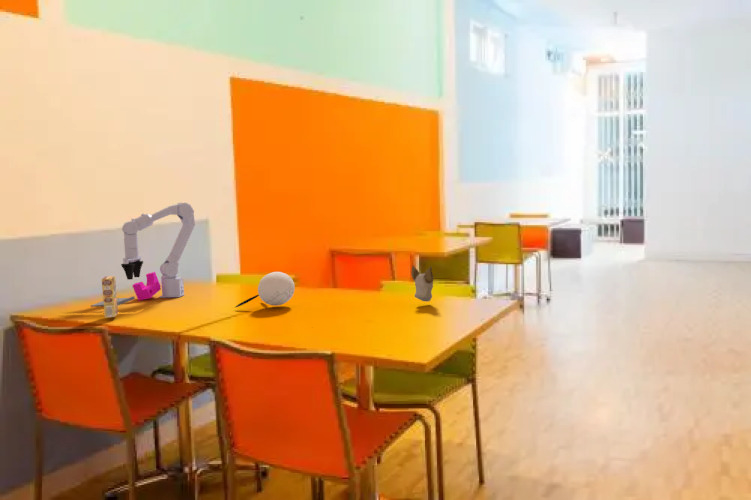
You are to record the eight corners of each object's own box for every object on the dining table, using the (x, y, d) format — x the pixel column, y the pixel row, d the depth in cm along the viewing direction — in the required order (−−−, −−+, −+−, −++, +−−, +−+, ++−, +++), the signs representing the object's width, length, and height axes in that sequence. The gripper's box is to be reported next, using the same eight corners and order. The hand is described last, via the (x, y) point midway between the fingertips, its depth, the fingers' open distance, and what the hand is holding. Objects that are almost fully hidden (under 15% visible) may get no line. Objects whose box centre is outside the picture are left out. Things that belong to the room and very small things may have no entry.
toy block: (150, 297, 320) (144, 282, 318) (138, 300, 321) (132, 285, 319) (165, 285, 334) (159, 270, 332) (153, 288, 335) (147, 273, 333)
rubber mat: (134, 298, 328) (134, 296, 328) (116, 305, 308) (116, 303, 308) (110, 299, 328) (110, 297, 328) (90, 306, 309) (90, 304, 309)
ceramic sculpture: (442, 301, 289) (441, 265, 288) (428, 305, 283) (427, 267, 282) (421, 299, 297) (420, 263, 295) (408, 302, 290) (407, 265, 289)
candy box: (115, 317, 279) (112, 278, 278) (104, 318, 278) (101, 278, 277) (118, 313, 287) (115, 275, 286) (107, 314, 286) (104, 276, 285)
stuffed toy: (311, 290, 297) (269, 316, 308) (296, 261, 299) (255, 288, 310) (284, 297, 280) (242, 324, 292) (269, 266, 282) (227, 295, 294)
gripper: (129, 247, 329) (131, 276, 330) (115, 250, 315) (117, 280, 316) (144, 246, 328) (146, 276, 330) (131, 249, 314) (133, 280, 315)
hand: (133, 278), depth 323 cm, fingers open, 7 cm apart
